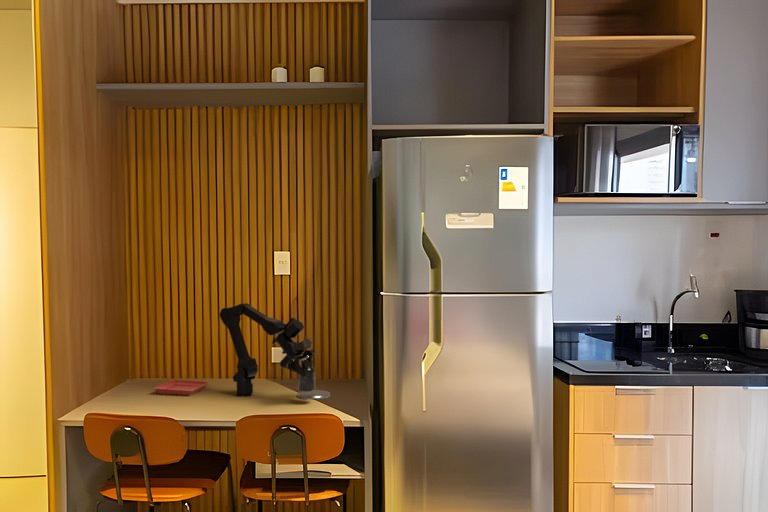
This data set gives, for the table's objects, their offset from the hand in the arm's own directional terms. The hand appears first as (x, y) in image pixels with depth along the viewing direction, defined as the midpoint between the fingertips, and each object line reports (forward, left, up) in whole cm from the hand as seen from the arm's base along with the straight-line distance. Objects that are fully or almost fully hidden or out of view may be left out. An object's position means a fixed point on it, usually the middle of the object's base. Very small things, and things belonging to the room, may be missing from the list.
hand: (309, 374), depth 269 cm
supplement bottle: (-1, +1, -7) cm, 7 cm away
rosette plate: (+2, +14, -12) cm, 18 cm away
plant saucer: (-56, +30, -13) cm, 65 cm away
